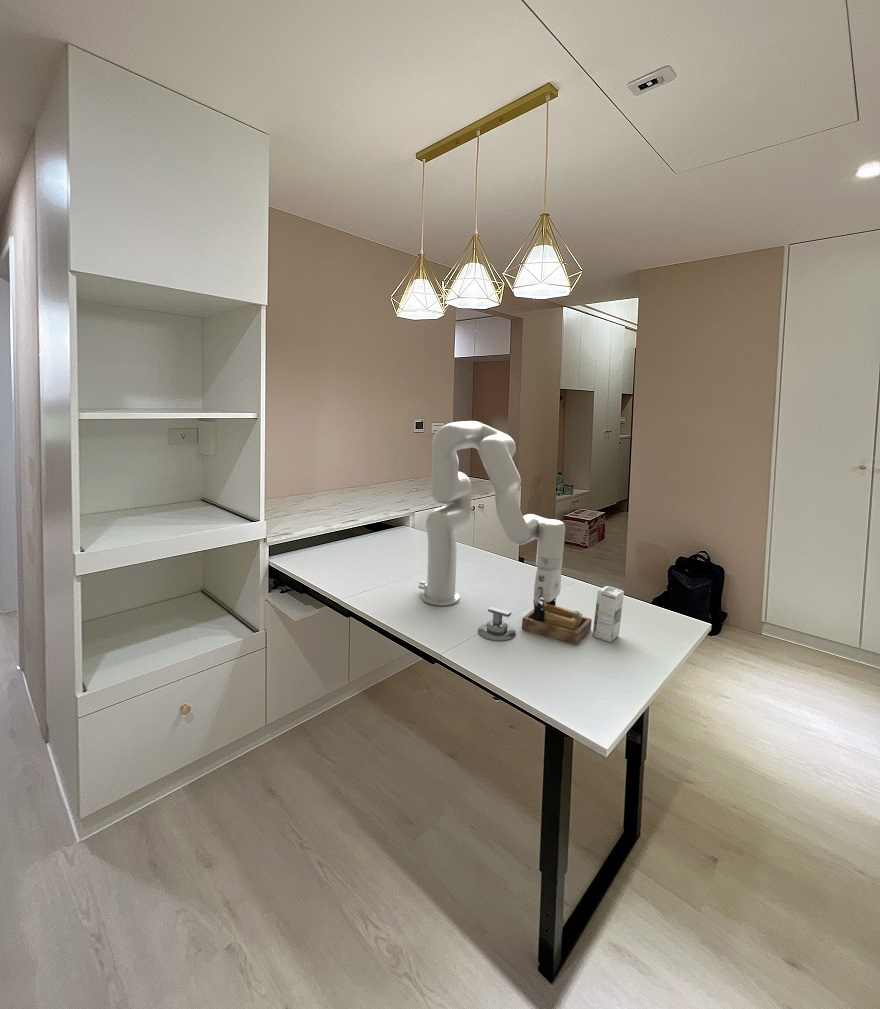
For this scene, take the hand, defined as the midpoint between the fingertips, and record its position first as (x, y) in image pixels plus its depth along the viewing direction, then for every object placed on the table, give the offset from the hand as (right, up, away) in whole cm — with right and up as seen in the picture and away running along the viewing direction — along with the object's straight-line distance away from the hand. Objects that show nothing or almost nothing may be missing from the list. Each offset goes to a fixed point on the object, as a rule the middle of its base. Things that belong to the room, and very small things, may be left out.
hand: (544, 616), depth 161 cm
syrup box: (+17, -5, -5) cm, 19 cm away
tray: (+3, -4, -2) cm, 5 cm away
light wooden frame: (+3, -1, -2) cm, 4 cm away
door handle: (-15, -4, -4) cm, 16 cm away
